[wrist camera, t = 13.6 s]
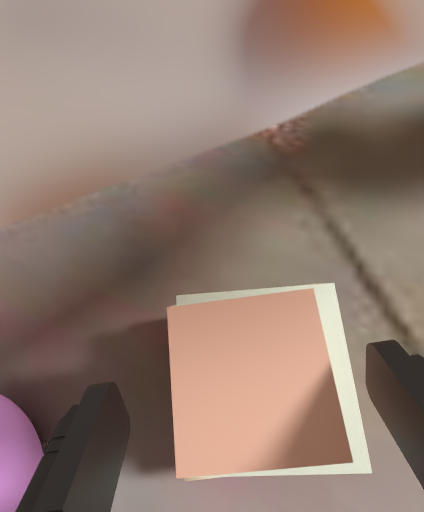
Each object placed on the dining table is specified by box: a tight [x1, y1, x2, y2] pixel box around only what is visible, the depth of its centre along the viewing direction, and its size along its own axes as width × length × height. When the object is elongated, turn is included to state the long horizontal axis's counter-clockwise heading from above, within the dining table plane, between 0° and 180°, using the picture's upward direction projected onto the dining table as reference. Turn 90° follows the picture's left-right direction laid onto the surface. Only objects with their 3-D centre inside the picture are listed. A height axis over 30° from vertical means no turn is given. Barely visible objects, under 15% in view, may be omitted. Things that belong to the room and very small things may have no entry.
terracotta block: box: [167, 288, 353, 479], centre depth 14 cm, size 5×5×9 cm
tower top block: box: [176, 283, 372, 478], centre depth 20 cm, size 10×10×5 cm
